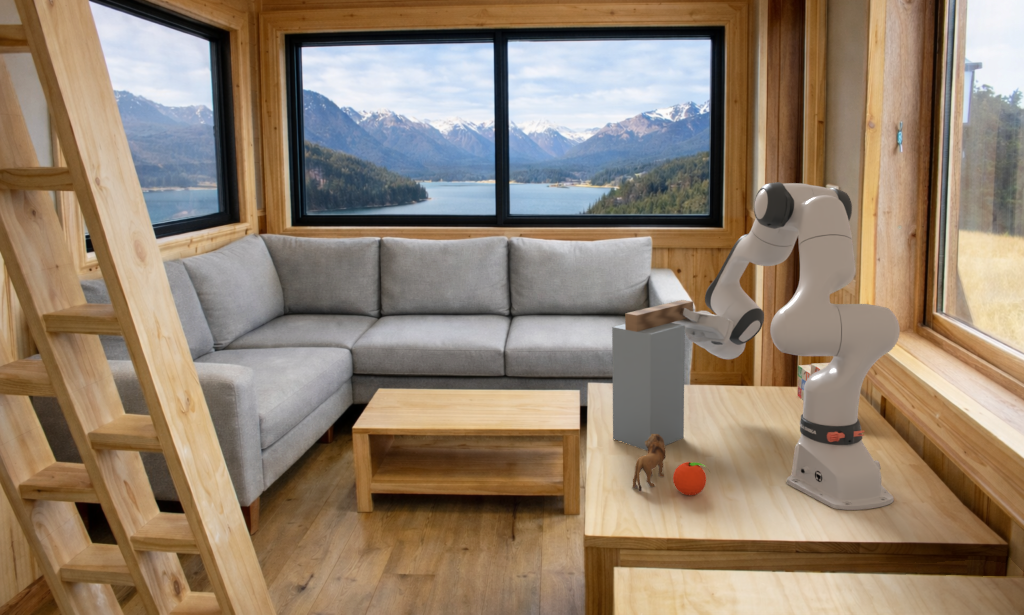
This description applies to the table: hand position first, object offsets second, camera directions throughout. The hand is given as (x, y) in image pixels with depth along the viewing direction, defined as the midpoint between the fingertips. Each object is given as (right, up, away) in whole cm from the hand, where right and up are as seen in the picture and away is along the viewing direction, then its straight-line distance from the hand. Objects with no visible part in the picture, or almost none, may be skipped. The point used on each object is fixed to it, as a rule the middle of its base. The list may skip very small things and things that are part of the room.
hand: (674, 309), depth 213 cm
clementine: (-3, -39, -33) cm, 52 cm away
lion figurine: (-11, -38, -25) cm, 47 cm away
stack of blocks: (+44, -27, +20) cm, 56 cm away
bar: (-4, -3, -3) cm, 6 cm away
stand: (-7, -32, 0) cm, 33 cm away
